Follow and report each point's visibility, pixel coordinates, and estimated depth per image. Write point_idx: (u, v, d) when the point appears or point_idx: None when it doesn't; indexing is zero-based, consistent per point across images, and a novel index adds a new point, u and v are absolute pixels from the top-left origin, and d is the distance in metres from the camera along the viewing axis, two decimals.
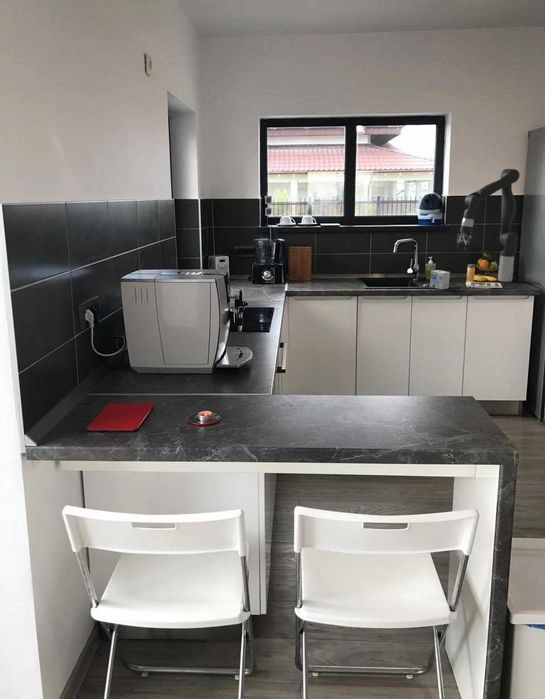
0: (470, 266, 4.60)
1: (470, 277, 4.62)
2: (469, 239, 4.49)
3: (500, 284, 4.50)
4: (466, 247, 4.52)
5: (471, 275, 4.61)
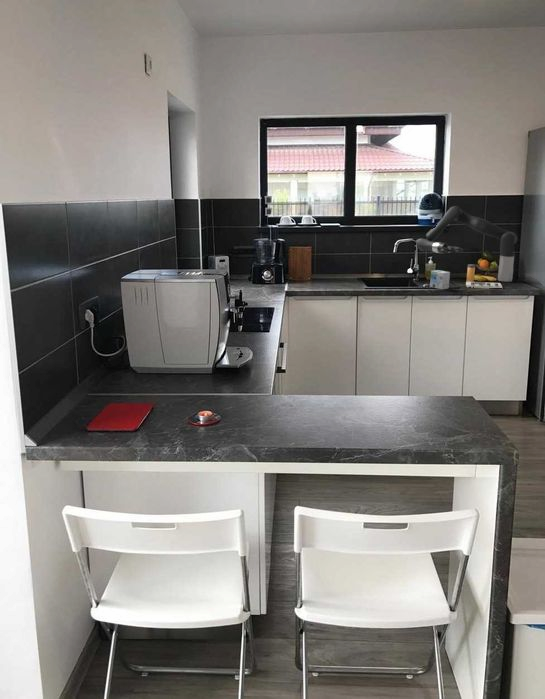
0: (470, 266, 4.60)
1: (470, 277, 4.62)
2: (443, 250, 4.69)
3: (500, 284, 4.50)
4: (451, 251, 4.66)
5: (471, 275, 4.61)
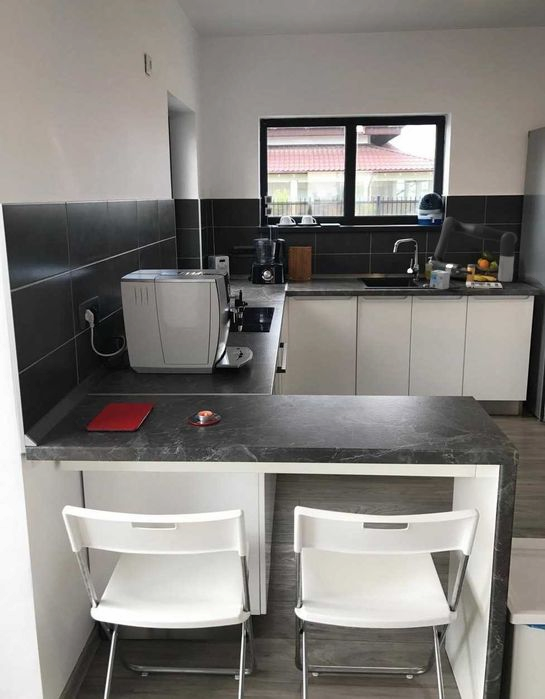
0: (470, 266, 4.60)
1: (470, 277, 4.62)
2: (459, 272, 4.63)
3: (500, 284, 4.50)
4: (468, 273, 4.60)
5: (471, 275, 4.61)
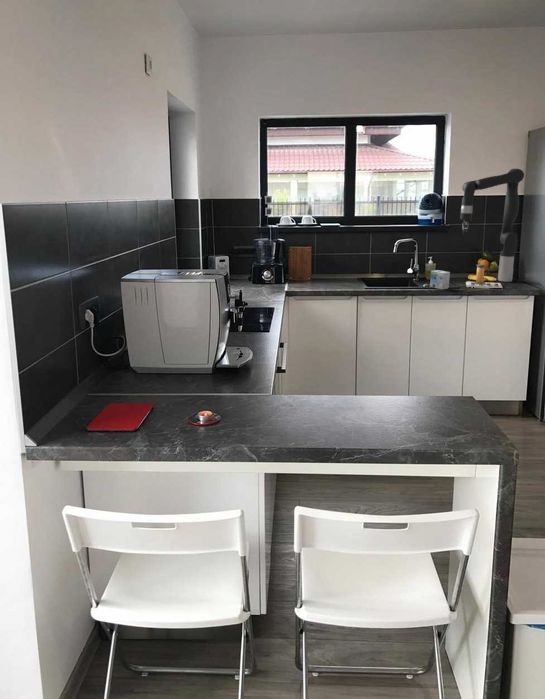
0: (480, 266, 4.48)
1: (480, 277, 4.50)
2: (465, 225, 4.57)
3: (500, 284, 4.50)
4: (464, 233, 4.60)
5: (481, 275, 4.49)
